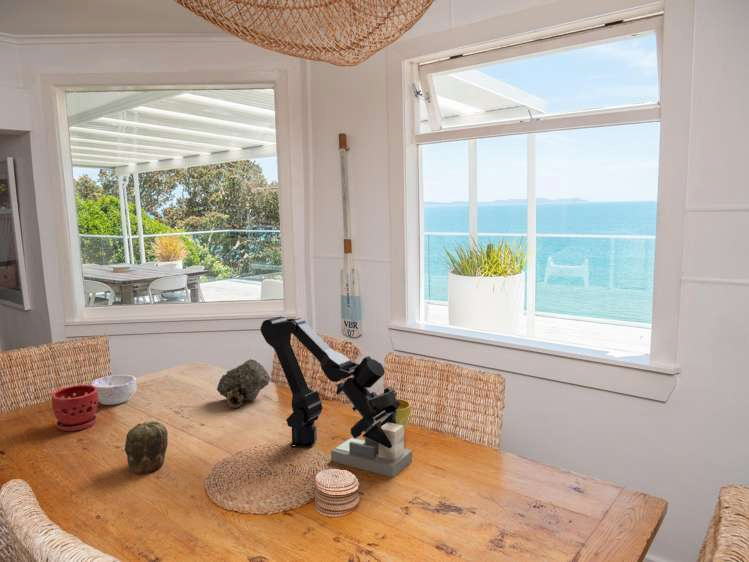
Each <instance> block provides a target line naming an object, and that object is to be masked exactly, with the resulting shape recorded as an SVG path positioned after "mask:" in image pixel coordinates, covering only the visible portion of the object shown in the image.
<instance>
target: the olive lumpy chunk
mask: <svg viewBox="0 0 749 562" xmlns="http://www.w3.org/2000/svg"><path fill="white" fill-rule="evenodd" d="M168 435H169V434H168V429H167V427H166V426H165V425H164V424H163V423H162V422H159V421H157V420H151V421H148V420H147V421H144V422H143V423H137V424H135V426H134V427H132V428H131V429H129V431H127V434H126V438H125V444H124V445H125V446H124V451H125V454H126V458H127V465H128V469H130V471H131V472H132V473H134V474H138V475H144V474H147V473H148V474H149V473H151V472H155V471H157V470H159V469H160V468H161V467H162V466H163V465H164V463H165V457H166V453H167V448H168V443H169V442H168Z"/></svg>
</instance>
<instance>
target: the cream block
mask: <svg viewBox="0 0 749 562" xmlns="http://www.w3.org/2000/svg"><path fill="white" fill-rule="evenodd" d="M381 428H382V430H383V432H384V433H385V435H386V436H387V438H388V439H389V441H390V442H391V444H392V447H391V448H390V449H389V448H387V447H385V446H383V445H382V444H380V443H379V457H381V458H385V459H389V460H392V461H396V460H397V459H398V458H400V457H401V456H402V455H403V454H404V449H405V434H404V426H403V425H399V424H394V423H389V422H387V423H386V424H384V425H383V426H381Z"/></svg>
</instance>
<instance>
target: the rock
mask: <svg viewBox="0 0 749 562" xmlns="http://www.w3.org/2000/svg"><path fill="white" fill-rule="evenodd" d="M271 379H272V378H271V376H270V375H269V373H268V371H267V370H266V369H265V366H264V365H263V364H261V363H260V362H258V361H257V360H255V359H251V358H250V359H248V360H245V362H244V363H243V364H240V365H238V366H236V367H234V368H232V369H230V370H227V371H226V374H223V375H222V376H221V377H220V379H219V380H218V381H219V382H218V384H217V388H216V390H217V392H218V393H219V394H220V396H223V397H224V398H225V400H226V403H227V405H228V406H229V408H232V409H237V408H240V407H241V405H242V401H253V400H255V399H257V397H258V395H259V393H260V392H261V390H263V389H264V388H265V387H267V386H268V385H269V382H270V381H271ZM252 399H253V400H252Z"/></svg>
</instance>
